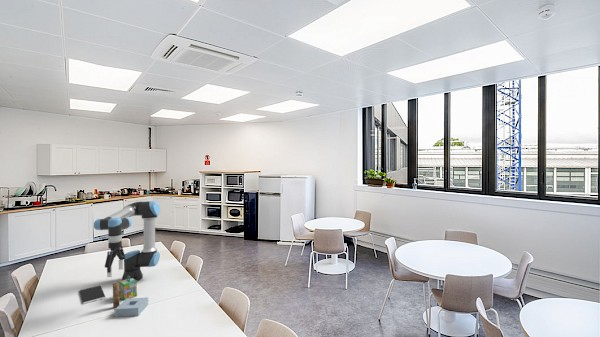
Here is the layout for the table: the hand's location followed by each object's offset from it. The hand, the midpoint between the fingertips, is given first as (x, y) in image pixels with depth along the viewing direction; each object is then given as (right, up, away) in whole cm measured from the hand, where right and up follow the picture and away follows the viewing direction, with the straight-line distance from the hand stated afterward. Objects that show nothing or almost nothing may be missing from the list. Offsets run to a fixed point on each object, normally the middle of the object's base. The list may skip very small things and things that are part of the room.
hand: (115, 273), depth 189 cm
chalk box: (-1, -23, +15) cm, 28 cm away
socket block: (+14, -23, -4) cm, 27 cm away
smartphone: (-30, -24, +19) cm, 42 cm away
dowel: (0, -23, +1) cm, 23 cm away
